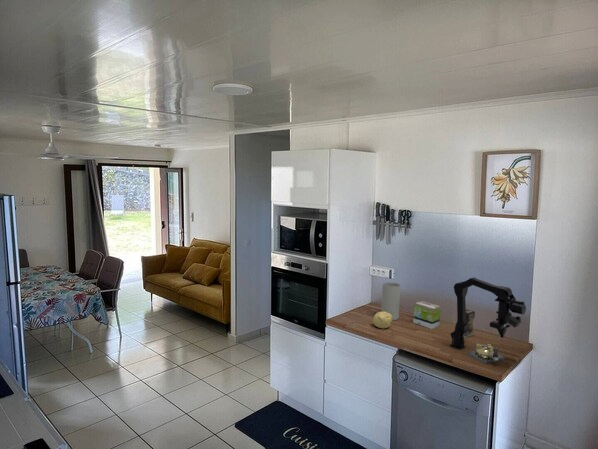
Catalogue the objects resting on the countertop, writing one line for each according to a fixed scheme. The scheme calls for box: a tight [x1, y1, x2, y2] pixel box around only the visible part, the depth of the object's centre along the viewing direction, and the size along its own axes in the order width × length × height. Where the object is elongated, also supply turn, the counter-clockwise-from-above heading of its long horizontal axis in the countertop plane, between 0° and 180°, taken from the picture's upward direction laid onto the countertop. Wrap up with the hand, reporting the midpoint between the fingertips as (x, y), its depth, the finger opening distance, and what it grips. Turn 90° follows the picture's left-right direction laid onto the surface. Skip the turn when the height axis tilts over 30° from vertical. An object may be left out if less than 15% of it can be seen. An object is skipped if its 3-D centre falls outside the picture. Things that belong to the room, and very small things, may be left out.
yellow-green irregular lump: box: [474, 343, 500, 360], centre depth 227 cm, size 17×11×8 cm, turn 1°
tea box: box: [412, 300, 441, 330], centre depth 282 cm, size 15×10×15 cm, turn 42°
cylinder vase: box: [380, 281, 401, 322], centre depth 294 cm, size 12×12×25 cm
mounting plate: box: [466, 350, 506, 365], centre depth 231 cm, size 13×15×2 cm
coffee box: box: [463, 308, 476, 339], centre depth 264 cm, size 9×6×16 cm
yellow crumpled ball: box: [372, 311, 393, 329], centre depth 275 cm, size 11×12×11 cm
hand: (502, 337), depth 225 cm, fingers closed
